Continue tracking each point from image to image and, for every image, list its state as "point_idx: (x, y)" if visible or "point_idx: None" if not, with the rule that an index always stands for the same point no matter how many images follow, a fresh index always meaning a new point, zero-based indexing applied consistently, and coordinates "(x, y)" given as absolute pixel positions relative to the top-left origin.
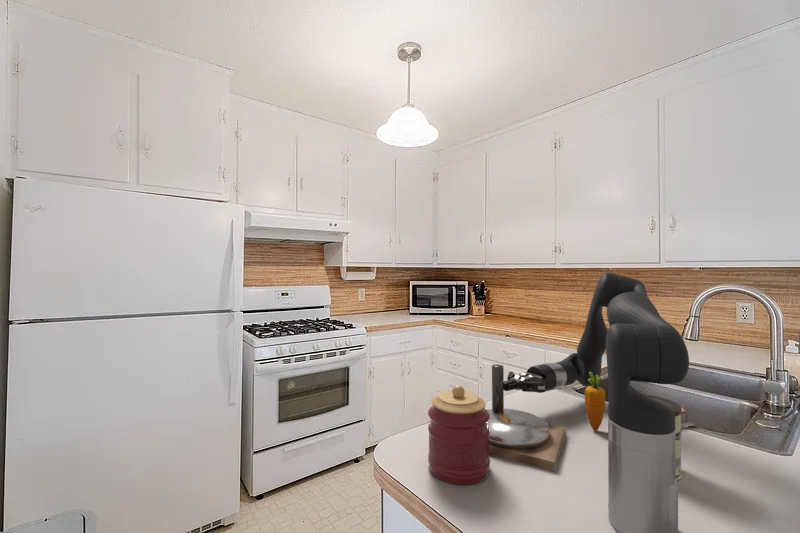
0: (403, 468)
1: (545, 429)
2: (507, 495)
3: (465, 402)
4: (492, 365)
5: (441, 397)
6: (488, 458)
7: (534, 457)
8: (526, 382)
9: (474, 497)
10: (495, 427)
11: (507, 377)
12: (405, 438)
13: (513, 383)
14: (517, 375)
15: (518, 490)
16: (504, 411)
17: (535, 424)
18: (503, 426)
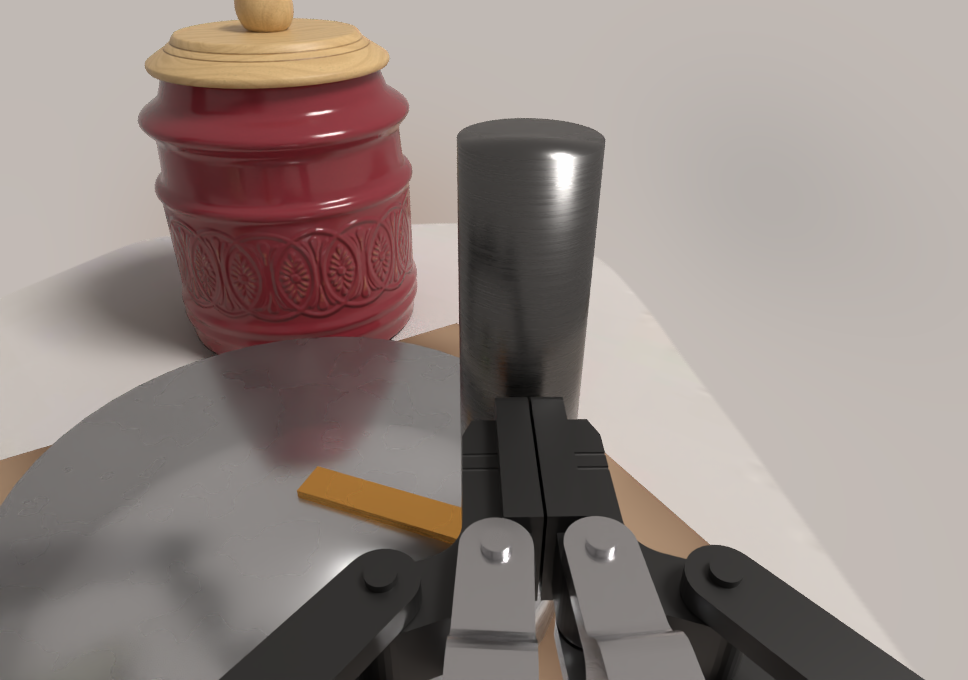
0: (417, 241)
1: (1, 598)
2: (88, 331)
3: (199, 26)
4: (575, 126)
5: (308, 20)
6: (187, 289)
7: (38, 449)
8: (335, 586)
9: (172, 284)
10: (314, 390)
11: (737, 559)
12: (593, 287)
13: (484, 492)
14: (674, 660)
15: (63, 361)
16: None
17: (114, 603)
18: (290, 425)
